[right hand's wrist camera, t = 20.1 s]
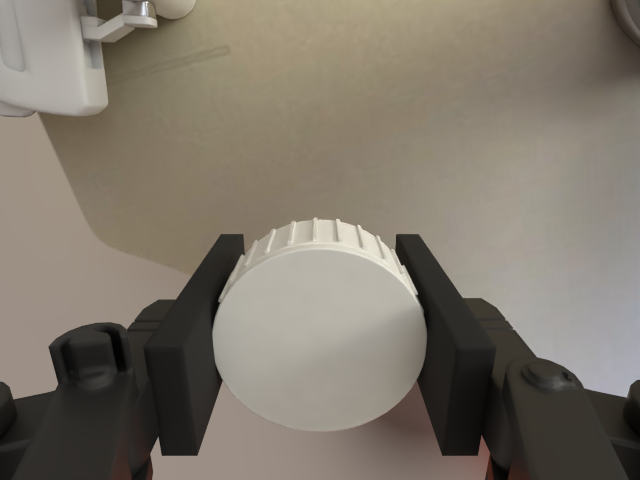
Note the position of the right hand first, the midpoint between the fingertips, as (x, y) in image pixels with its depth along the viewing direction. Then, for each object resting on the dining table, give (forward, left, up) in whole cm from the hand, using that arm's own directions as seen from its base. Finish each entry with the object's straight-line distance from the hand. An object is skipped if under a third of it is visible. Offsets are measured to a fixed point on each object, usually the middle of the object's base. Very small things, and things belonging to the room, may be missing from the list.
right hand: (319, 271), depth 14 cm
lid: (0, 0, +4) cm, 4 cm away
